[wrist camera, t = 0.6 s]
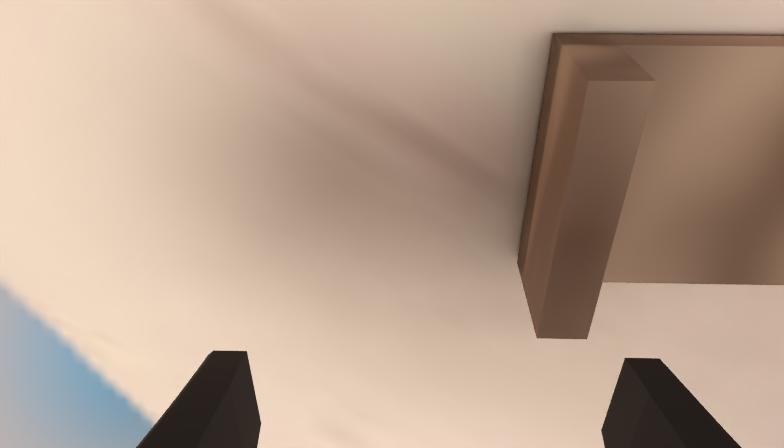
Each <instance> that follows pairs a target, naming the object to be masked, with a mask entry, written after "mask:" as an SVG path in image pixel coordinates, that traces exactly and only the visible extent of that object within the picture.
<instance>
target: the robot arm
mask: <svg viewBox="0 0 784 448" xmlns="http://www.w3.org/2000/svg"><path fill="white" fill-rule="evenodd" d="M260 426H261V421H260V416H259V411H258V406H257V401H256V396H255V391H254V386H253V380H252V375H251V370H250V365H249V360H248V355H247V351H212V352H211V353H210V354H209V355H208V356H207V358H206V359H205V360H204V362H203V363H202V364H201V366H200V367H199V368H198V370H197V371H196V372H195V374H194V375H193V376H192V378H191V379H190V380H189V382H188V383H187V384H186V386H185V387H184V388H183V390H182V391H181V392H180V394H179V395H178V396H177V398H176V399H175V400H174V401H173V403H172V404H171V405H170V406H169V408H168V409H167V410H166V412H165V413H164V414H163V415H162V417H161V418H160V419H159V420H158V422H157V423H156V424H155V425H154V426H153V428H152V429H151V430H150V431H149V433H148V434H147V435H146V436H145V437H144V439H143V440H142V441H141V442H140V444H139V445H138V446H137V447H136V448H257V444H258V438H259V432H260ZM601 431H602V435H603V440H604V445H605V448H741V447H740V446H739V445H738V444H737V442H736V441H735V440H734V439H733V438H732V437H731V436H730V435H729V434H728V433H727V432H726V431H725V430H724V429H723V428H722V426H721V425H720V424H719V423H718V422H717V421H716V420H715V419H714V418H713V417H712V416H711V414H710V413H709V412H708V411H707V410H706V409H705V408H704V407H703V406H702V405H701V404H700V402H699V401H698V400H697V399H696V398H695V397H694V396H693V395H692V394H691V393H690V391H689V390H688V389H687V388H686V387H685V386H684V385H683V384H682V383H681V382H680V380H679V379H678V378H677V377H676V376H675V375H674V374H673V373H672V372H671V371H670V369H669V368H668V367H667V366H666V365H665V364H664V363H663V362H662V361H661V360H660V359H652V358H625V360H624V363H623V366H622V369H621V372H620V375H619V378H618V381H617V384H616V387H615V390H614V393H613V396H612V400H611V403H610V406H609V409H608V412H607V415H606V418H605V421H604V424H603V427H602V430H601Z"/></svg>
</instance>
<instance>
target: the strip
mask: <svg viewBox="0 0 784 448" xmlns="http://www.w3.org/2000/svg"><path fill="white" fill-rule="evenodd" d="M517 264H518V267H519V271H520V275H521V279H522V283H523V287H524V291H525V294H526V298H527V302H528V306H529V310H530V314H531V318H532V321H533V325H534V329H535V333H536V337H537V338H555V339H587V337H588V333H589V330H590V326H591V322H592V318H593V315H594V311H595V307H596V304H597V300H598V296H599V292H600V289H601V285H602V282H627V283H688V284H749V285H784V36H732V35H625V34H553V40H552V46H551V53H550V59H549V65H548V72H547V78H546V84H545V91H544V97H543V103H542V110H541V116H540V122H539V129H538V135H537V141H536V148H535V154H534V160H533V166H532V173H531V179H530V185H529V192H528V198H527V204H526V211H525V217H524V223H523V230H522V236H521V242H520V249H519V255H518V261H517Z"/></svg>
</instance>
